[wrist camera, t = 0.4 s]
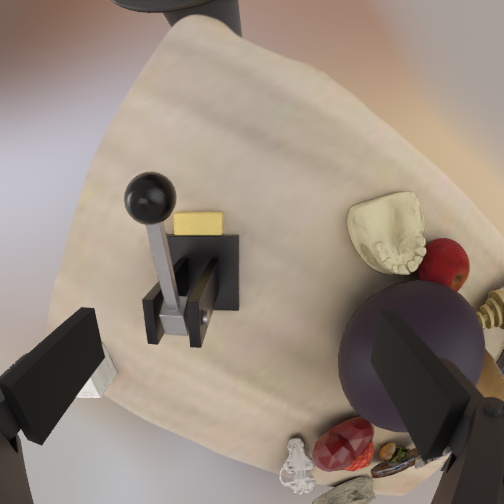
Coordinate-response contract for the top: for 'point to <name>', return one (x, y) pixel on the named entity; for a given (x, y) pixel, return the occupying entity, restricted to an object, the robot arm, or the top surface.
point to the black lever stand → (197, 282)
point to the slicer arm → (159, 241)
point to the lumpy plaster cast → (389, 232)
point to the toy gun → (492, 310)
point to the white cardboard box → (99, 379)
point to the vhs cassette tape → (501, 363)
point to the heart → (343, 444)
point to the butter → (198, 223)
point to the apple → (444, 263)
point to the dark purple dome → (426, 327)
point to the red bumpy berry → (362, 459)
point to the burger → (394, 460)
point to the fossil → (349, 493)
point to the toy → (422, 463)
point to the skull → (299, 467)
